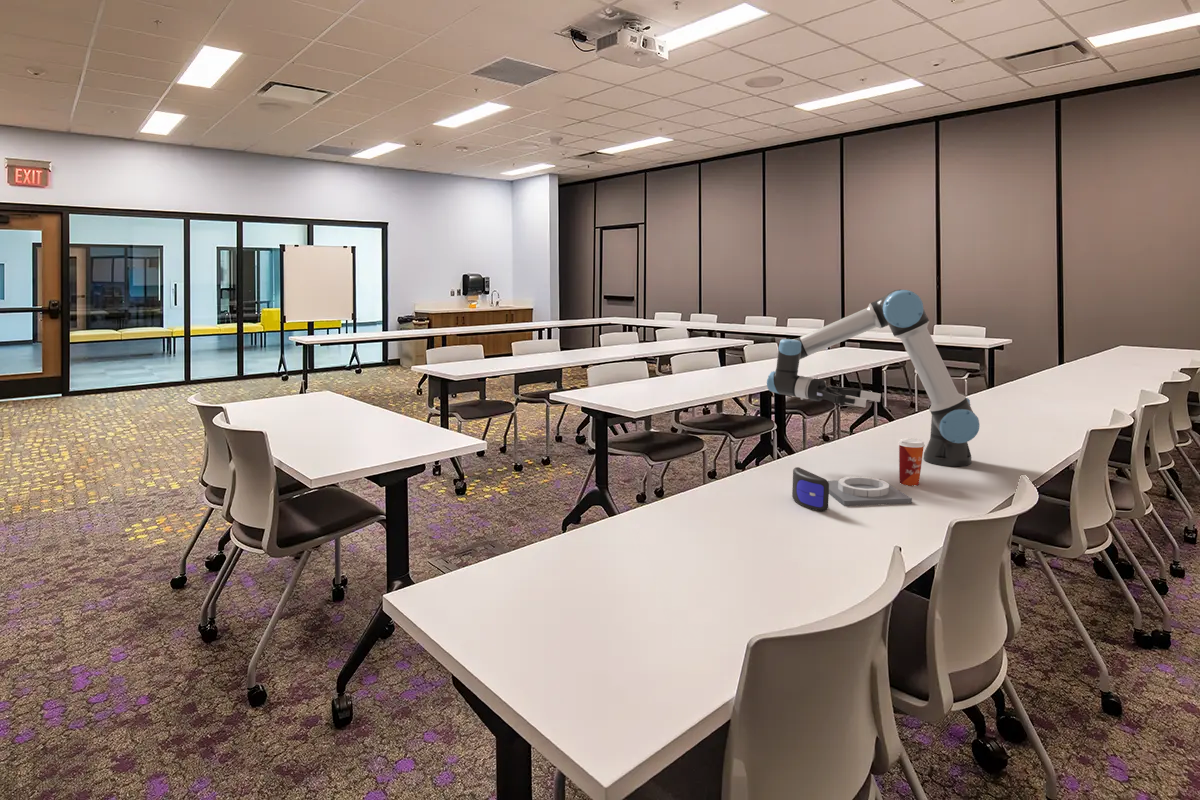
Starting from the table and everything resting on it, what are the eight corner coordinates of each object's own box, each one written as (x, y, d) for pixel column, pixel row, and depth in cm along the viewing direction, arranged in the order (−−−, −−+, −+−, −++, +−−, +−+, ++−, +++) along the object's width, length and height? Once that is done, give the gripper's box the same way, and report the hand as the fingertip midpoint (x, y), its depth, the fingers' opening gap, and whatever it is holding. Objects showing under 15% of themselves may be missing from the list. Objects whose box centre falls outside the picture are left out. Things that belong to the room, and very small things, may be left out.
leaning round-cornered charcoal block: (783, 497, 209) (784, 467, 208) (797, 495, 211) (798, 465, 209) (815, 514, 194) (816, 481, 192) (829, 512, 195) (830, 480, 194)
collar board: (880, 483, 221) (880, 472, 220) (911, 503, 201) (912, 491, 201) (818, 485, 220) (818, 475, 219) (844, 506, 200) (844, 494, 200)
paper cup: (911, 488, 215) (913, 444, 213) (890, 482, 222) (893, 439, 220) (928, 484, 219) (930, 441, 216) (907, 478, 226) (909, 436, 223)
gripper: (824, 395, 249) (884, 406, 236) (794, 404, 230) (857, 417, 217) (827, 374, 248) (887, 385, 234) (796, 382, 229) (860, 393, 216)
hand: (873, 400), depth 226 cm, fingers open, 13 cm apart
